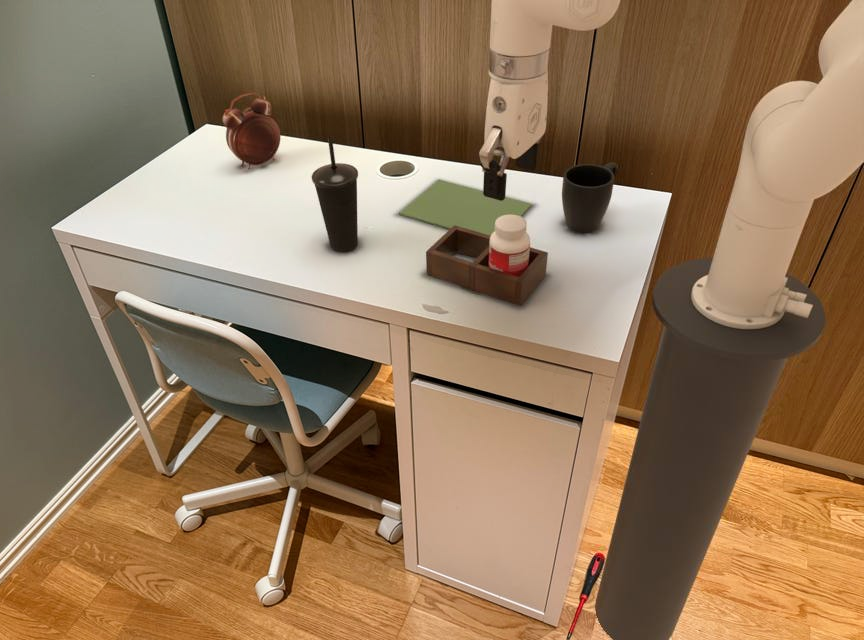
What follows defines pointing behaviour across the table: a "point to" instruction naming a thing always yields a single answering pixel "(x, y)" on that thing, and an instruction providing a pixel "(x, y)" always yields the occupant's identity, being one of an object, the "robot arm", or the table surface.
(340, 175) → the drinking cup
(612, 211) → the table surface
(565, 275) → the table surface
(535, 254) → the wooden compartment box
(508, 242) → the pill bottle
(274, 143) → the alarm clock
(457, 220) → the mat
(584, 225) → the mug
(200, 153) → the table surface
